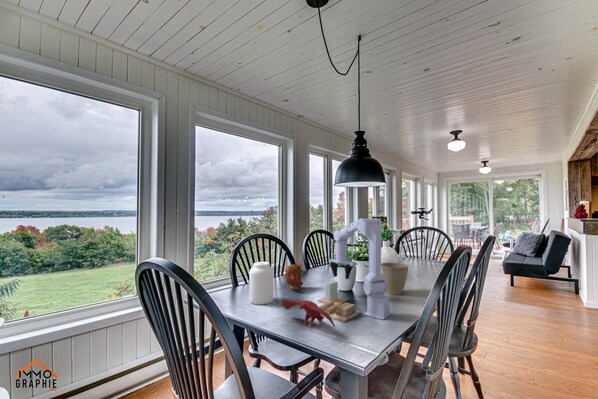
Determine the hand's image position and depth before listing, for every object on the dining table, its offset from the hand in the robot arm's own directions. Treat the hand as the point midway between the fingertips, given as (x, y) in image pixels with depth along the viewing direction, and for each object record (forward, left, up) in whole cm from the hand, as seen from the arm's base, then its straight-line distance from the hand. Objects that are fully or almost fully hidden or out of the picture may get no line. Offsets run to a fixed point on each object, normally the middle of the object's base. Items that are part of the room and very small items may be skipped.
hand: (341, 277), depth 161 cm
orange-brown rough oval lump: (+29, +7, -11) cm, 32 cm away
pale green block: (0, +9, -10) cm, 13 cm away
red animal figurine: (-11, +40, -11) cm, 43 cm away
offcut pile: (-17, +22, -9) cm, 29 cm away
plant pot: (-19, -26, -11) cm, 34 cm away
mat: (0, +9, -10) cm, 14 cm away
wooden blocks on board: (-12, +22, -10) cm, 27 cm away
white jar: (+28, +33, -11) cm, 45 cm away
